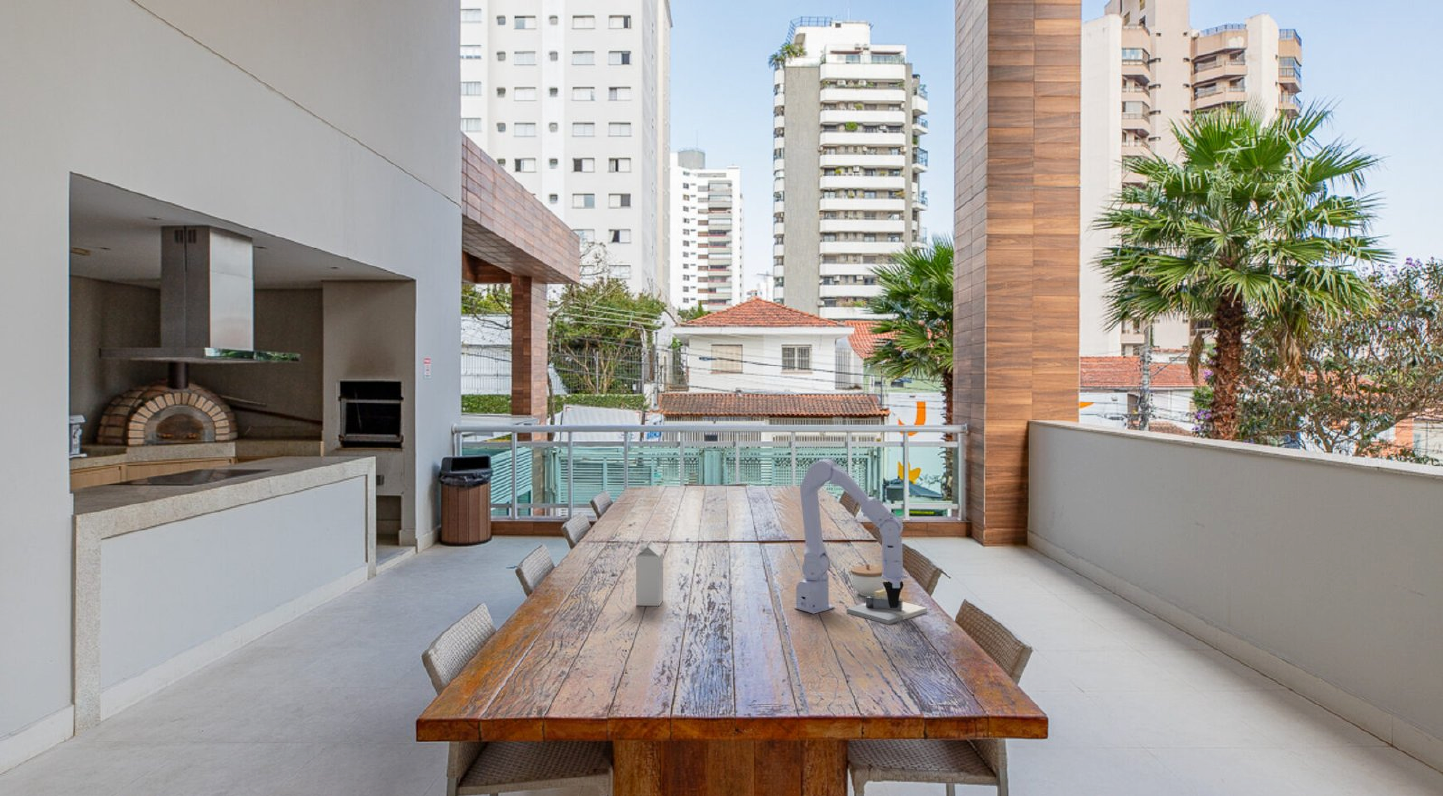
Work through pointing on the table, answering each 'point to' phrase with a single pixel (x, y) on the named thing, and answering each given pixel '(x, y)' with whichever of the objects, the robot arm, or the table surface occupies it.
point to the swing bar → (881, 603)
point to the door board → (886, 611)
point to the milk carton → (649, 575)
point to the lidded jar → (867, 579)
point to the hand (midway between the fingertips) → (893, 607)
